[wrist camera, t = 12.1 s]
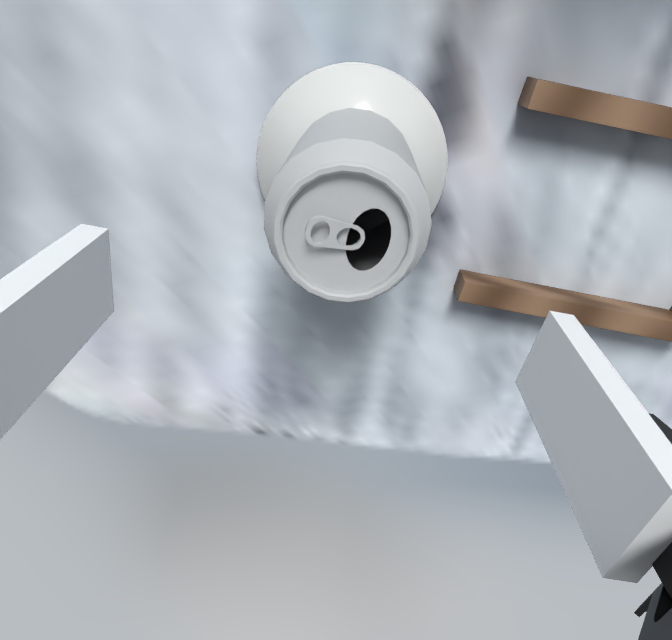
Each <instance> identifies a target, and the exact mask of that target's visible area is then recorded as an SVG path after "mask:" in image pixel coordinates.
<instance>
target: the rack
mask: <svg viewBox="0 0 672 640" xmlns="http://www.w3.org/2000/svg"><path fill="white" fill-rule="evenodd" d="M518 105H520V106H523V107H525V108H527V109H531V110H536V111H541V112H546V113H550V114H555V115H560V116H565V117H569V118H574V119H579V120H584V121H588V122H593V123H598V124H603V125H607V126H612V127H617V128H622V129H626V130H631V131H636V132H641V133H645V134H650V135H655V136H660V137H664V138H669V139H672V108H671V107H667V106H662V105H657V104H653V103H648V102H643V101H639V100H634V99H629V98H625V97H620V96H615V95H611V94H606V93H601V92H597V91H592V90H587V89H583V88H578V87H573V86H569V85H564V84H559V83H555V82H550V81H545V80H541V79H536V78H531V77H527V79H526V82H525V85H524V88H523V90H522V93H521V96H520V99H519V102H518ZM454 290H455V293H456V296H457V299H458V301H461V302H467V303H472V304H477V305H482V306H488V307H493V308H498V309H503V310H509V311H514V312H519V313H524V314H530V315H535V316H540V317H545V318H546V317H547V315H548V313H549V311H555V312H560V313H565V314H571V315H574V316H575V317H576V319H577V320H578V321H579V323H580V324H582V325H588V326H593V327H598V328H603V329H609V330H614V331H619V332H624V333H630V334H635V335H640V336H645V337H651V338H656V339H661V340H666V341H672V307H671V309H670V310H667V309H662V308H657V307H652V306H646V305H641V304H636V303H631V302H626V301H620V300H615V299H610V298H605V297H600V296H595V295H589V294H584V293H579V292H574V291H569V290H564V289H558V288H553V287H548V286H543V285H538V284H533V283H527V282H522V281H517V280H512V279H507V278H501V277H496V276H491V275H486V274H481V273H476V272H470V271H465V270H460V271H459V274H458V277H457V280H456V282H455V285H454Z"/></svg>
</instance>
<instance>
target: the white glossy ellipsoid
mask: <svg viewBox="0 0 672 640" xmlns="http://www.w3.org/2000/svg"><path fill="white" fill-rule="evenodd" d="M346 108H357V109H365V110H371V111H373V112H375V113H377V114H379V115H381V116H383V117H385V118H387V119H389V120H390V121H391V122H392V123H393V124H394V125H395V126H396V127H397V129H398V130H399V131H400V132H401V133H402V134H403V136H404V138H405V140H406V142H407V144H408V146H409V148H410V150H411V153H412V155H413V158H414V161H415V163H416V166H417V168H418V171H419V174H420V176H421V179H422V182H423V184H424V187H425V190H426V192H427V195H428V197H429V206H430V214H432V213H433V211H434V209H435V207H436V205H437V203H438V202H439V199H440V197H441V194H442V191H443V188H444V184H445V180H446V174H447V165H448V159H447V146H446V140H445V135H444V132H443V129H442V125H441V123H440V121H439V119H438V116H437V114H436V112H435V110H434V109H433V107H432V106H431V104H430V103H429V101H428V100H427V99H426V98H425V96H424V95H423V94H422V93H421V92H420V90H419V89H417V88H416V87H415V86H414V85H413V84H412V83H411V82H409V81H408V80H407V79H405V78H404V77H402V76H401V75H399V74H398V73H396V72H394V71H391V70H389V69H387V68H385V67H381V66H378V65H375V64H370V63H363V62H342V63H336V64H331V65H328V66H325V67H321V68H319V69H316V70H314V71H312V72H310V73H308V74H306V75H305V76H303V77H302V78H300V79H299V80H298V81H296V82H295V83H293V84H292V85H291V86H290V87H289V88H288V89H287V90H286V91H285V92H284V93H283V94H282V95H281V96H280V97H279V99H278V100H277V101H276V102H275V104H274V105H273V107H272V109H271V110H270V112H269V114H268V116H267V118H266V120H265V122H264V125H263V127H262V131H261V134H260V137H259V143H258V149H257V172H258V179H259V183H260V188H261V191H262V194H263V196H264V199H265V201H266V199H267V196H268V194H269V191H270V188H271V186H272V183H273V180H274V178H275V177H276V175H277V174H278V172H279V170H280V169H281V167H282V166H283V164H284V163H285V161H286V159H287V158H288V156H289V155H290V153H291V152H292V150H293V149H294V147H295V145H296V144H297V142H298V141H299V139H300V138H301V137H302V135H303V134H304V133H305V132H306V130H307V129H308V128H309V127H310V126H311V124H312V123H313V122H315V121H316V120H318V119H320V118H321V117H323V116H324V115H326V114H328V113H329V112H333V111H337V110H341V109H346Z"/></svg>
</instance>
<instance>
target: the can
mask: <svg viewBox="0 0 672 640" xmlns="http://www.w3.org/2000/svg"><path fill="white" fill-rule="evenodd" d="M431 224H432V223H431V214H430V206H429V197H428V195H427V192H426V190H425V187H424V184H423V182H422V179H421V176H420V174H419V171H418V168H417V166H416V163H415V161H414V158H413V155H412V153H411V150H410V148H409V146H408V144H407V142H406V140H405V138H404V136H403V134H402V133H401V132H400V131H399V130H398V129H397V127H396V126H395V125H394V124H393V123H392V122H391V121H390V120H389V119H387V118H385V117H383V116H381V115H379V114H377V113H375V112H373V111H371V110H365V109H357V108H346V109H341V110H337V111H333V112H329V113H328V114H326V115H324V116H323V117H321V118H320V119H318V120H316V121H315V122H313V123H312V124H311V126H310V127H309V128H308V129H307V130H306V132H305V133H304V134H303V135H302V137H301V138H300V139H299V141H298V142H297V144H296V145H295V147H294V149H293V150H292V152H291V153H290V155H289V156H288V158H287V159H286V161H285V163H284V164H283V166H282V167H281V169H280V170H279V172H278V174H277V175H276V177H275V178H274V180H273V183H272V186H271V188H270V191H269V194H268V196H267V199H266V202H265V215H264V230H265V233H266V237H267V240H268V243H269V247H270V250H271V253H272V254H273V256H274V257H275V259H276V260H277V262H278V263H279V265H280V266H281V268H282V269H283V270H284V272H285V273H286V274H287V275H288V276H289V277H290V278H291V279H292V280H293V281H294V282H295V283H297V284H298V285H299V286H300V287H302V288H303V289H304V290H305V291H307V292H308V293H311V294H313V295H316V296H318V297H320V298H323V299H325V300H328V301H337V302H346V303H351V302H357V301H363V300H369V299H372V298H374V297H376V296H378V295H380V294H382V293H384V292H387V291H389V290H390V289H391V288H392V287H394V286H396V285H397V284H398V283H399V282H400V281H401V280H403V279H404V278H405V277H406V276H407V275H408V274H409V273H410V272H411V271H412V270H414V268H415V266H416V265H417V263H418V261H419V260H420V258H421V256H422V254H423V253H424V251H425V249H426V247H427V242H428V238H429V233H430V228H431Z"/></svg>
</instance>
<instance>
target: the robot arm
mask: <svg viewBox="0 0 672 640" xmlns="http://www.w3.org/2000/svg"><path fill="white" fill-rule="evenodd" d="M113 312H114V303H113V289H112V274H111V259H110V244H109V230H108V229H107V228H101V227H96V226H90V225H85V224H80V225H79V226H77V227H76V228H74V229H73V230H71V231H70V232H69V233H67V234H66V235H64V236H63V237H61V238H60V239H58V240H57V241H55V242H54V243H53V244H51V245H50V246H48V247H47V248H45V249H44V250H42V251H41V252H39V253H38V254H36V255H35V256H34V257H32V258H31V259H29V260H28V261H26V262H25V263H23V264H22V265H20V266H19V267H18V268H16V269H15V270H13V271H12V272H10V273H9V274H7V275H6V276H4V277H3V278H2V279H0V440H1V438H2V437H3V436H4V435H5V434H6V433H7V432H8V430H9V429H10V428H11V427H12V426H13V425H14V424H15V423H16V421H17V420H18V419H19V418H20V417H21V416H22V415H23V413H24V412H25V411H26V410H27V409H28V408H29V407H30V406H31V404H32V403H33V402H34V401H35V400H36V399H37V398H38V396H39V395H40V394H41V393H42V392H43V391H44V390H45V389H46V387H47V386H48V385H49V384H50V383H51V382H52V381H53V380H54V378H55V377H56V376H57V375H58V374H59V373H60V372H61V370H62V369H63V368H64V367H65V366H66V365H67V364H68V363H69V361H70V360H71V359H72V358H73V357H74V356H75V355H76V354H77V352H78V351H79V350H80V349H81V348H82V347H83V346H84V344H85V343H86V342H87V341H88V340H89V339H90V338H91V337H92V335H93V334H94V333H95V332H96V331H97V330H98V329H99V327H100V326H101V325H102V324H103V323H104V322H105V321H106V320H107V318H108V317H109V316H110V315H111V314H112V313H113ZM515 382H516V384H517V386H518V389H519V391H520V393H521V395H522V398H523V400H524V402H525V404H526V407H527V409H528V411H529V413H530V416H531V418H532V420H533V422H534V425H535V427H536V429H537V431H538V434H539V436H540V438H541V440H542V442H543V445H544V447H545V449H546V451H547V454H548V456H549V458H550V460H551V463H552V465H553V467H554V469H555V472H556V474H557V476H558V478H559V481H560V483H561V485H562V487H563V490H564V492H565V494H566V496H567V498H568V501H569V503H570V505H571V508H572V510H573V512H574V514H575V517H576V519H577V521H578V523H579V525H580V528H581V530H582V532H583V534H584V537H585V539H586V541H587V543H588V546H589V548H590V550H591V552H592V555H593V557H594V559H595V561H596V563H597V566H598V568H599V570H600V573H601V575H602V577H603V578H609V579H615V580H621V581H628V582H634V583H637V582H638V581H639V580H640V579H641V578H642V577H643V576H644V575H645V574H646V573H647V571H648V570H649V569H650V568H651V567H652V566H653V567H654V569H655V571H656V572H657V574H658V576H659V578H660V580H661V582H662V583H661V584H660V585H659V587H657V589H656V590H655V591H654V592H653V593H652V594H651V595H650V596H649V597H648V598H647V599H646V600H645V601H644V602H643V603H642V604H641V605H640V606H639V608H638V609H637V610H636V611H635V612H634V613H635V614H636V615H637V616H639V617H640V616H641V615H642V614H643V613H644V612H647V613H646V616H645V620H644V623H643V626H642V629H641V632H640V635H639V639H638V640H672V429H671V428H669V427H668V426H667V425H666V424H665V423H663V422H662V421H661V420H660V419H659V418H657V417H656V416H655V415H654V414H649V413H648V412H647V411H646V410H645V408H644V407H643V406H642V404H641V403H640V402H639V400H638V399H637V398H636V396H635V395H634V394H633V393H632V391H631V390H630V389H629V387H628V386H627V385H626V383H625V382H624V381H623V379H622V378H621V377H620V375H619V374H618V373H617V371H616V370H615V369H614V367H613V366H612V365H611V363H610V362H609V361H608V360H607V358H606V357H605V356H604V354H603V353H602V352H601V350H600V349H599V348H598V346H597V345H596V344H595V342H594V341H593V340H592V338H591V337H590V336H589V334H588V333H587V332H586V330H585V329H584V328H583V327H582V325H581V324H580V323H579V321H578V320H577V319H576V317H575V316H574V315H571V314H565V313H560V312H555V311H549V313H548V315H547V317H546V319H545V321H544V323H543V325H542V327H541V329H540V331H539V333H538V335H537V338H536V340H535V342H534V344H533V346H532V348H531V350H530V352H529V354H528V356H527V358H526V360H525V362H524V365H523V367H522V369H521V371H520V373H519V375H518V377H517V379H516V381H515Z"/></svg>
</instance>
